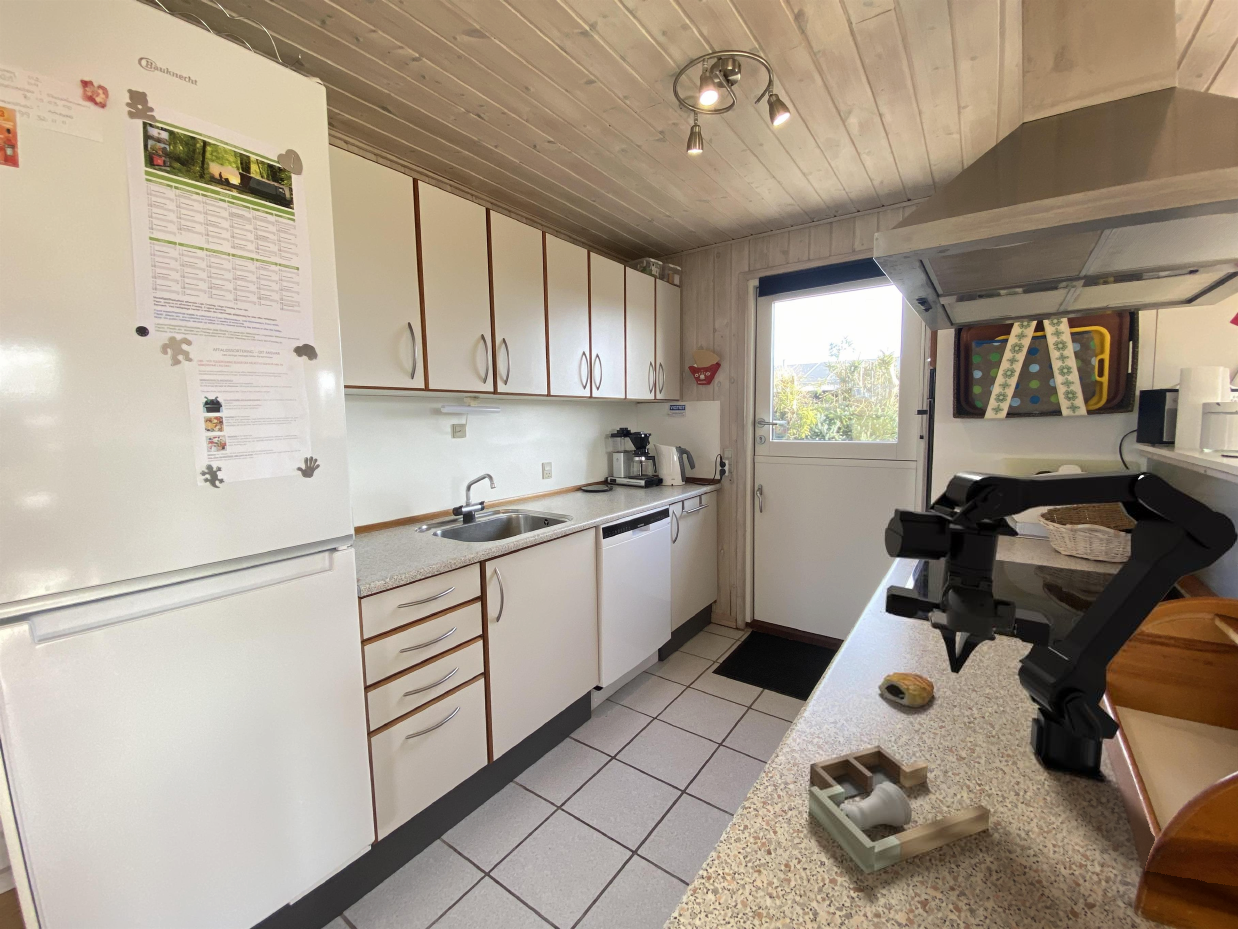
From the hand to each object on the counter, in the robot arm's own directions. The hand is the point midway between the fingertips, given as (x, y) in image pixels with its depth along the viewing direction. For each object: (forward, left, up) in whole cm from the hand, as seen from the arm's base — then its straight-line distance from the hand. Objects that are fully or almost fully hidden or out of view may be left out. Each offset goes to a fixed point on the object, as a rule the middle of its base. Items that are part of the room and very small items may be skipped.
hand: (954, 671), depth 71 cm
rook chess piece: (+7, +17, -10) cm, 20 cm away
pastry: (+4, -14, -13) cm, 20 cm away
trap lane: (+9, +15, -12) cm, 21 cm away
